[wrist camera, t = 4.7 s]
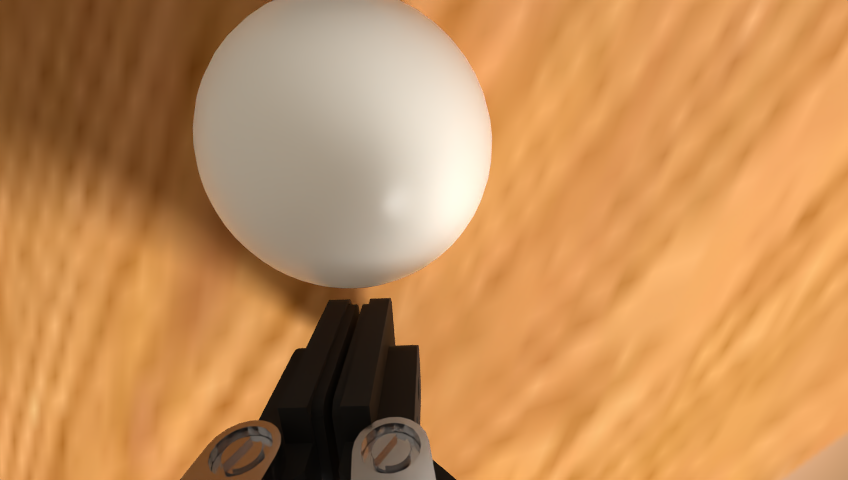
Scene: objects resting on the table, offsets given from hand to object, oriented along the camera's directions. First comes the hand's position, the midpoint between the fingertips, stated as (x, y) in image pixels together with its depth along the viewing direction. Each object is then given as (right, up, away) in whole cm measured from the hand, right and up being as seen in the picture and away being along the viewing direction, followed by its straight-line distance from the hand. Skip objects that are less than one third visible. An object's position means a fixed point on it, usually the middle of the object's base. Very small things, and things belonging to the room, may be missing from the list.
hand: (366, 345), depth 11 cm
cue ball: (0, +5, -3) cm, 6 cm away
